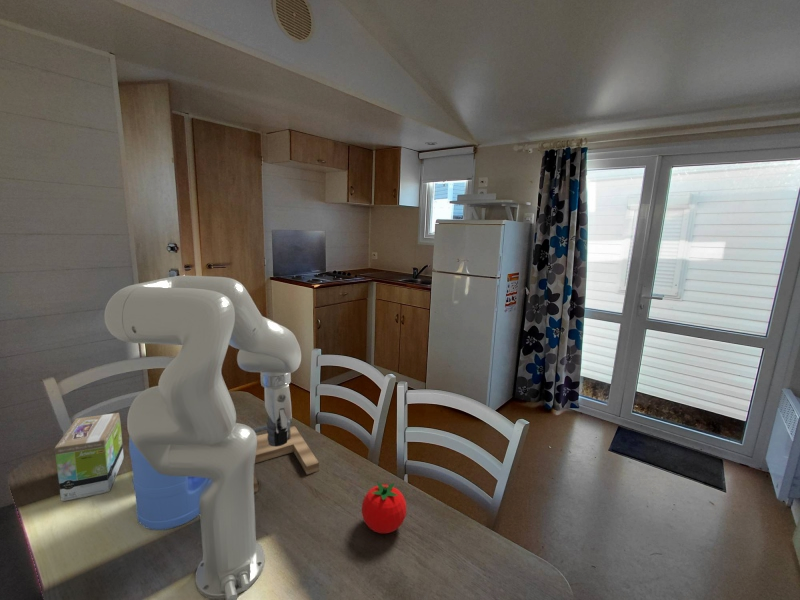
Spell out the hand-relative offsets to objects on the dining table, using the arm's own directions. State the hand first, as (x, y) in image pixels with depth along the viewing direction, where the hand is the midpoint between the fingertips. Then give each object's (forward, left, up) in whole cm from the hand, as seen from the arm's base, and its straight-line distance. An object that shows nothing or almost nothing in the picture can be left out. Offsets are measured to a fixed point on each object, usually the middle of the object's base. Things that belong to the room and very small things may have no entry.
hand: (277, 437), depth 102 cm
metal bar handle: (+10, 0, -8) cm, 13 cm away
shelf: (+6, 0, -10) cm, 12 cm away
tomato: (-31, -16, -11) cm, 37 cm away
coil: (0, 0, -1) cm, 1 cm away
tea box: (+21, +42, -11) cm, 48 cm away
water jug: (-1, +25, -11) cm, 27 cm away
